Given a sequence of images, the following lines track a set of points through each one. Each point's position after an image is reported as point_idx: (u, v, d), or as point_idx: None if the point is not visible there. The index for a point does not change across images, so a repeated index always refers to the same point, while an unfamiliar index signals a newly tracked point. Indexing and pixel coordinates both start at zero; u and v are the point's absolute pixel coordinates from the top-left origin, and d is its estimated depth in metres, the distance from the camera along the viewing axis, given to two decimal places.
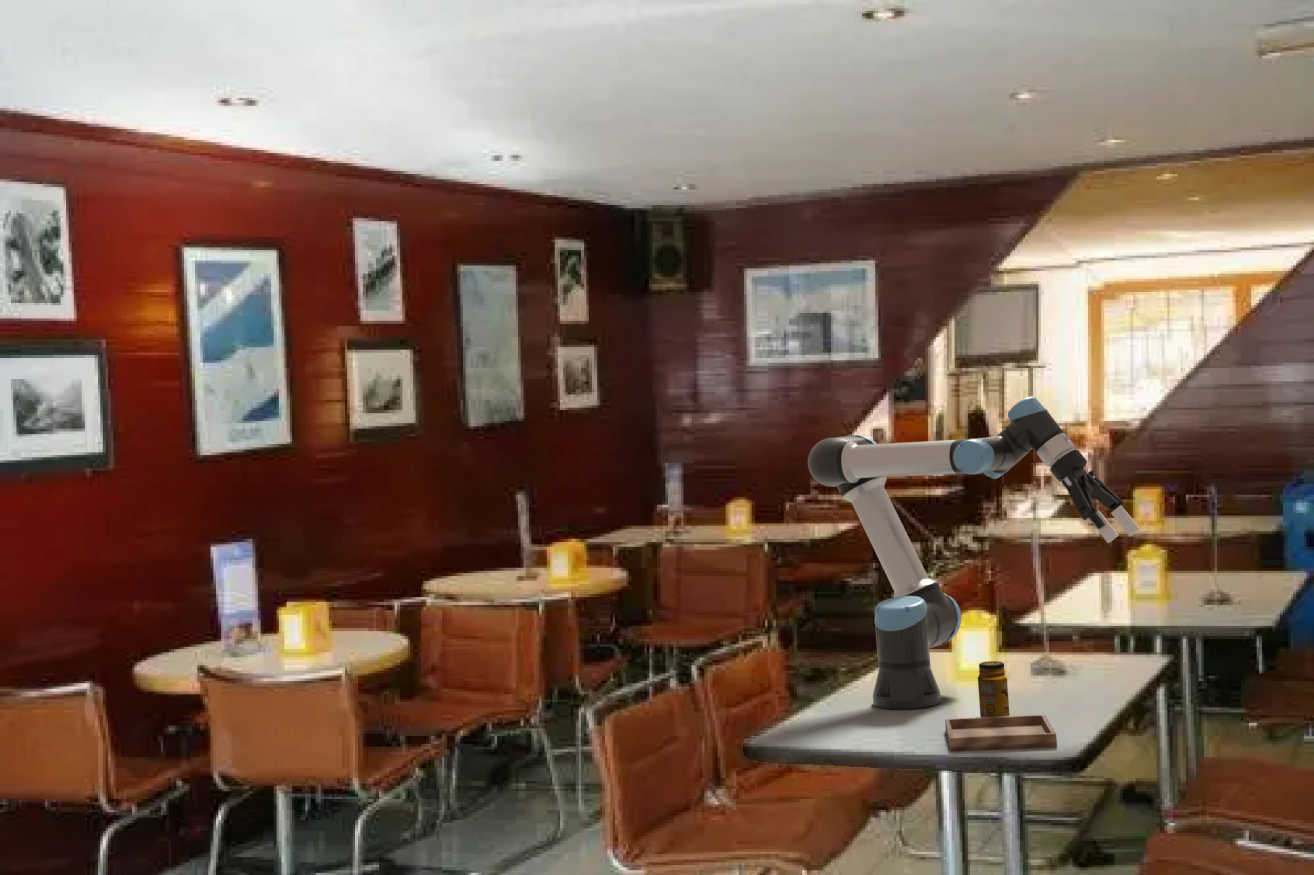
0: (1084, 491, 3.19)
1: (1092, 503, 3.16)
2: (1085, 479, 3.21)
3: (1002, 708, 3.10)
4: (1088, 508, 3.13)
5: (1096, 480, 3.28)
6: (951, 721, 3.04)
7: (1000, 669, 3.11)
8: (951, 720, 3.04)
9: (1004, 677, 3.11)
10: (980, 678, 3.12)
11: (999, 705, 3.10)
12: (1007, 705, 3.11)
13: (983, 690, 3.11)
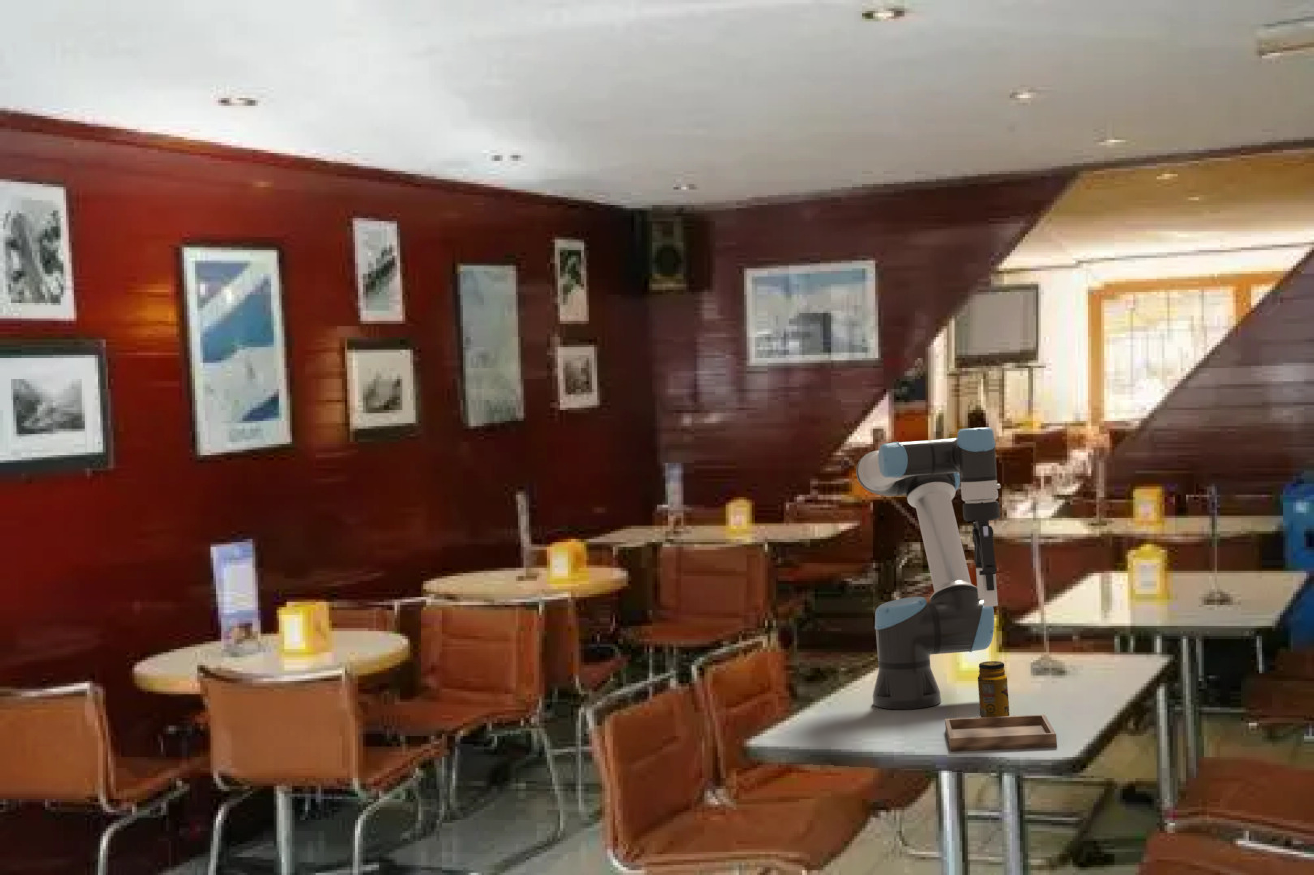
0: None
1: None
2: (992, 535, 3.10)
3: (1002, 708, 3.10)
4: (995, 569, 3.02)
5: None
6: (951, 721, 3.04)
7: (1000, 669, 3.11)
8: (951, 720, 3.04)
9: (1004, 677, 3.11)
10: (980, 678, 3.12)
11: (999, 705, 3.10)
12: (1007, 705, 3.11)
13: (983, 690, 3.11)
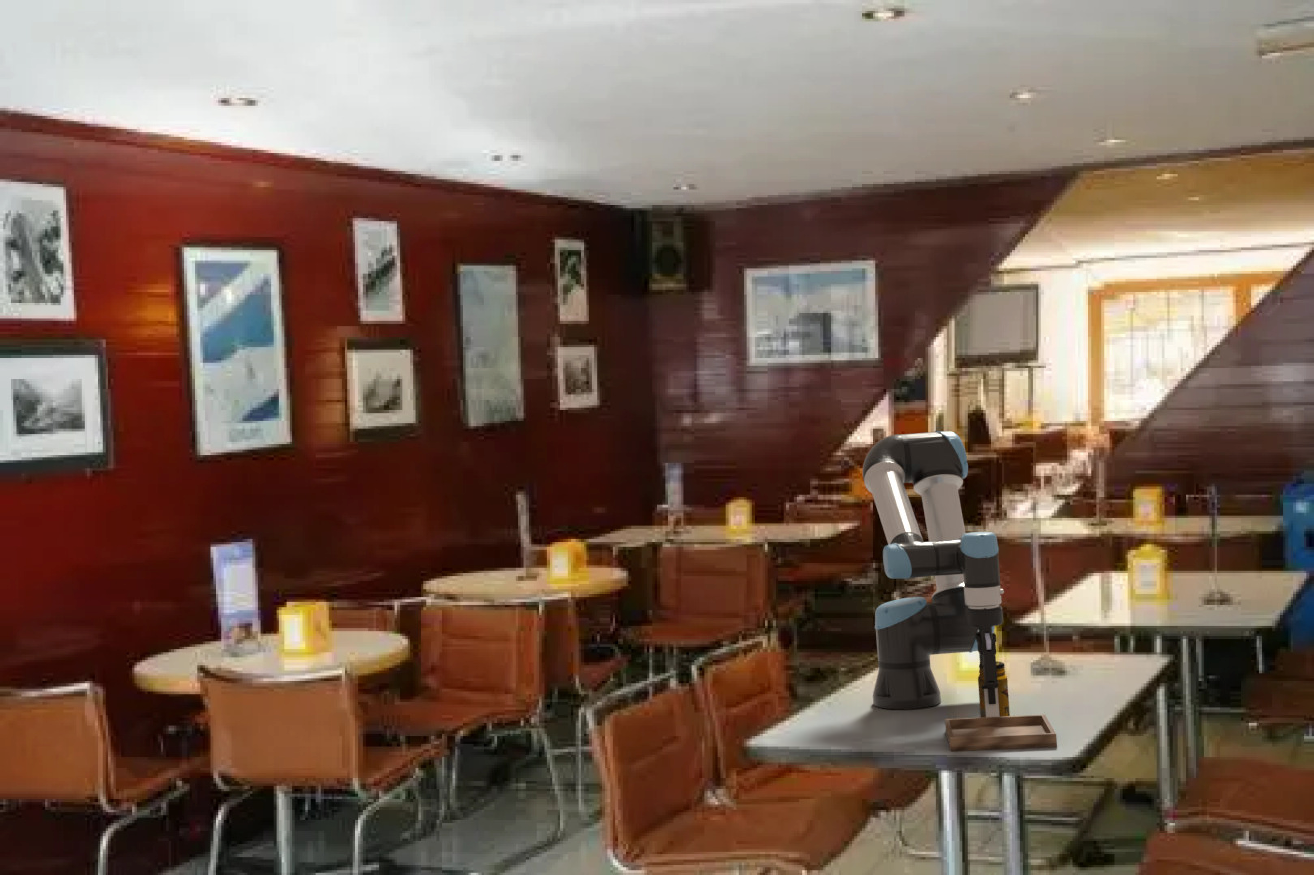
0: None
1: None
2: (995, 642, 3.10)
3: (1002, 708, 3.10)
4: (996, 685, 3.06)
5: None
6: (951, 721, 3.04)
7: (1000, 669, 3.10)
8: (951, 720, 3.04)
9: (1005, 677, 3.11)
10: (980, 678, 3.11)
11: (999, 705, 3.10)
12: (1007, 705, 3.11)
13: (983, 691, 3.11)
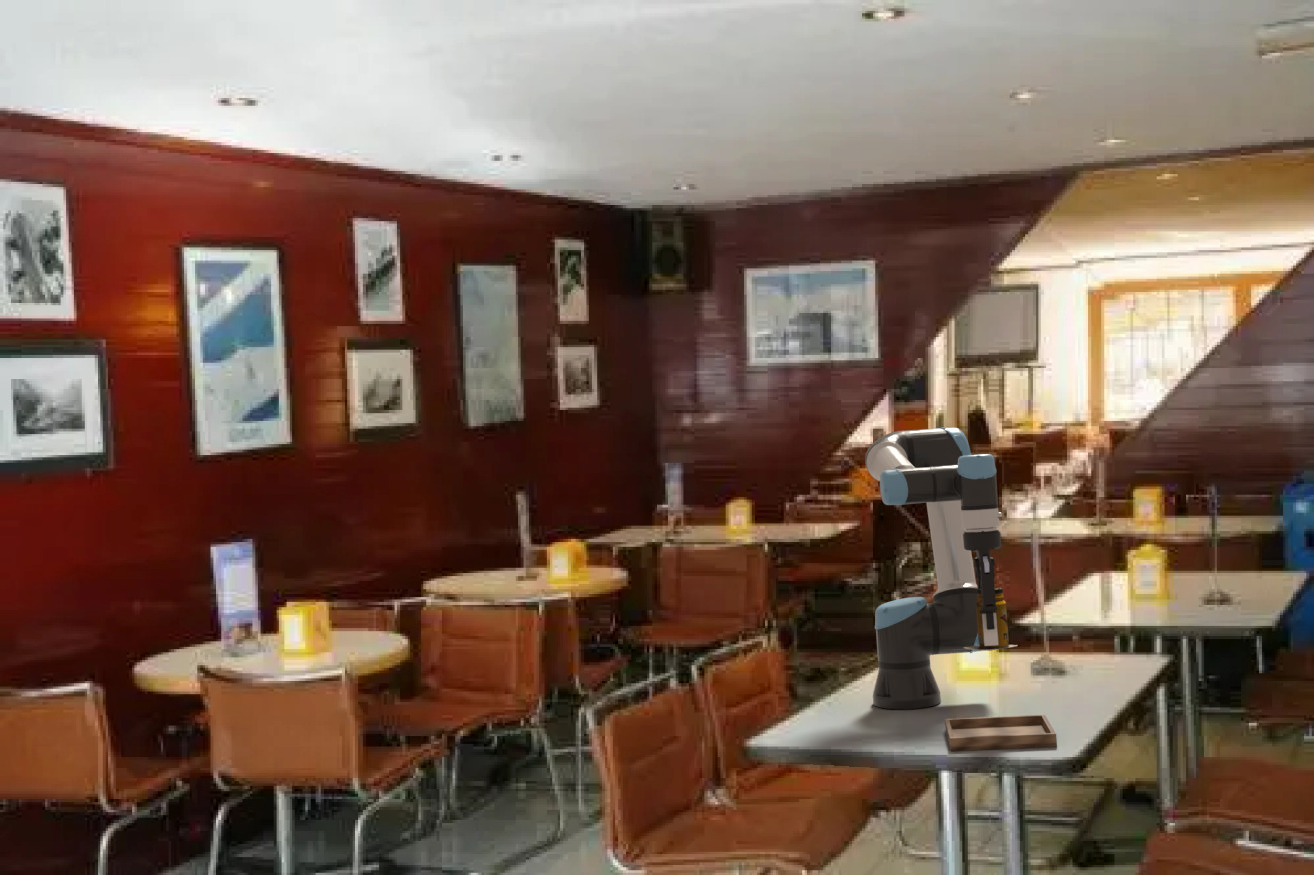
0: None
1: None
2: (993, 566, 3.02)
3: (1001, 634, 3.01)
4: (995, 609, 2.97)
5: None
6: (951, 721, 3.04)
7: (998, 594, 3.01)
8: (951, 720, 3.04)
9: (1003, 602, 3.02)
10: (978, 604, 3.03)
11: (998, 631, 3.01)
12: (1006, 631, 3.02)
13: (981, 616, 3.02)
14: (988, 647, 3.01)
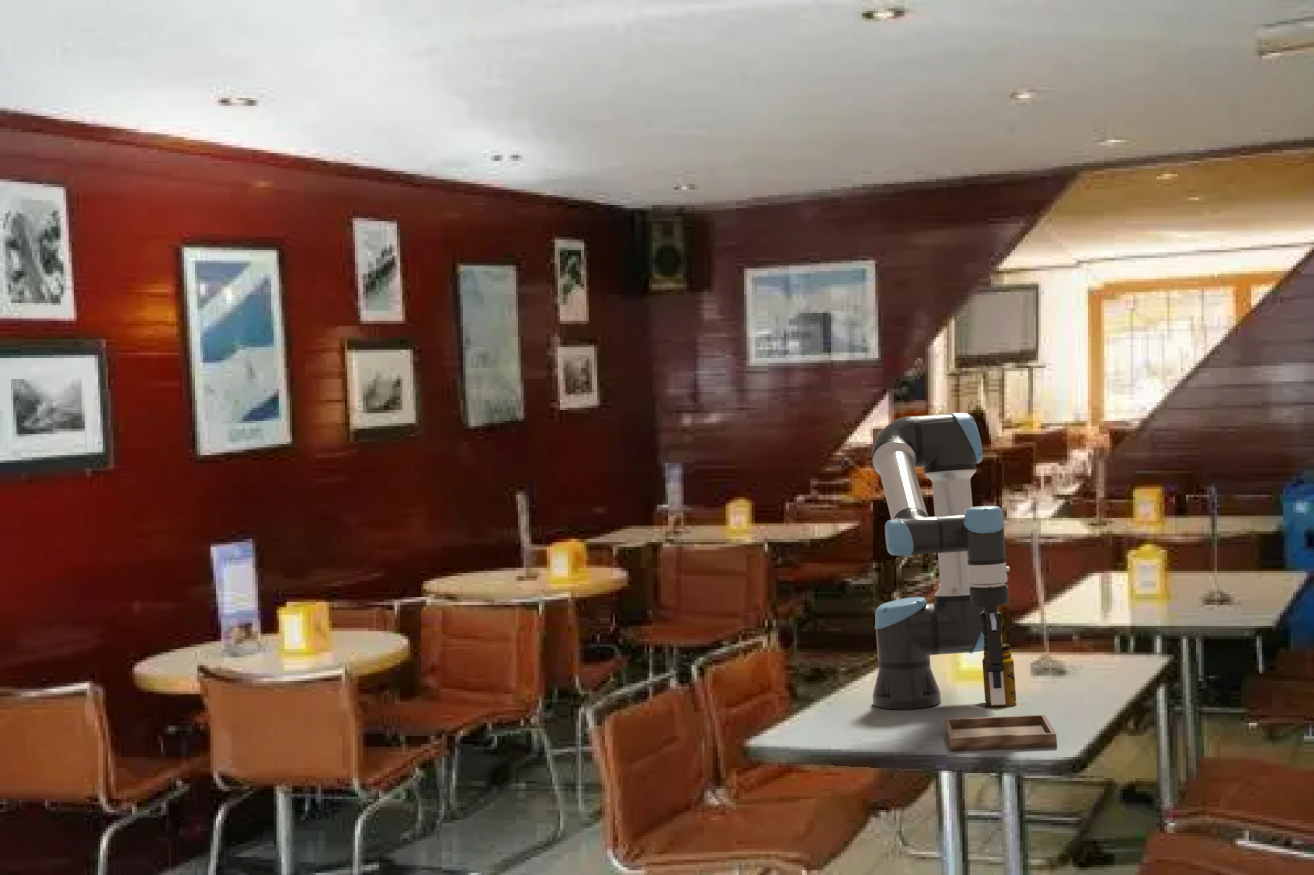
0: None
1: None
2: None
3: (1008, 693, 2.92)
4: (1002, 668, 2.88)
5: None
6: (951, 721, 3.04)
7: (1006, 651, 2.92)
8: (951, 720, 3.04)
9: (1011, 659, 2.93)
10: (985, 661, 2.94)
11: (1005, 689, 2.92)
12: (1014, 690, 2.93)
13: (988, 674, 2.93)
14: (995, 706, 2.92)
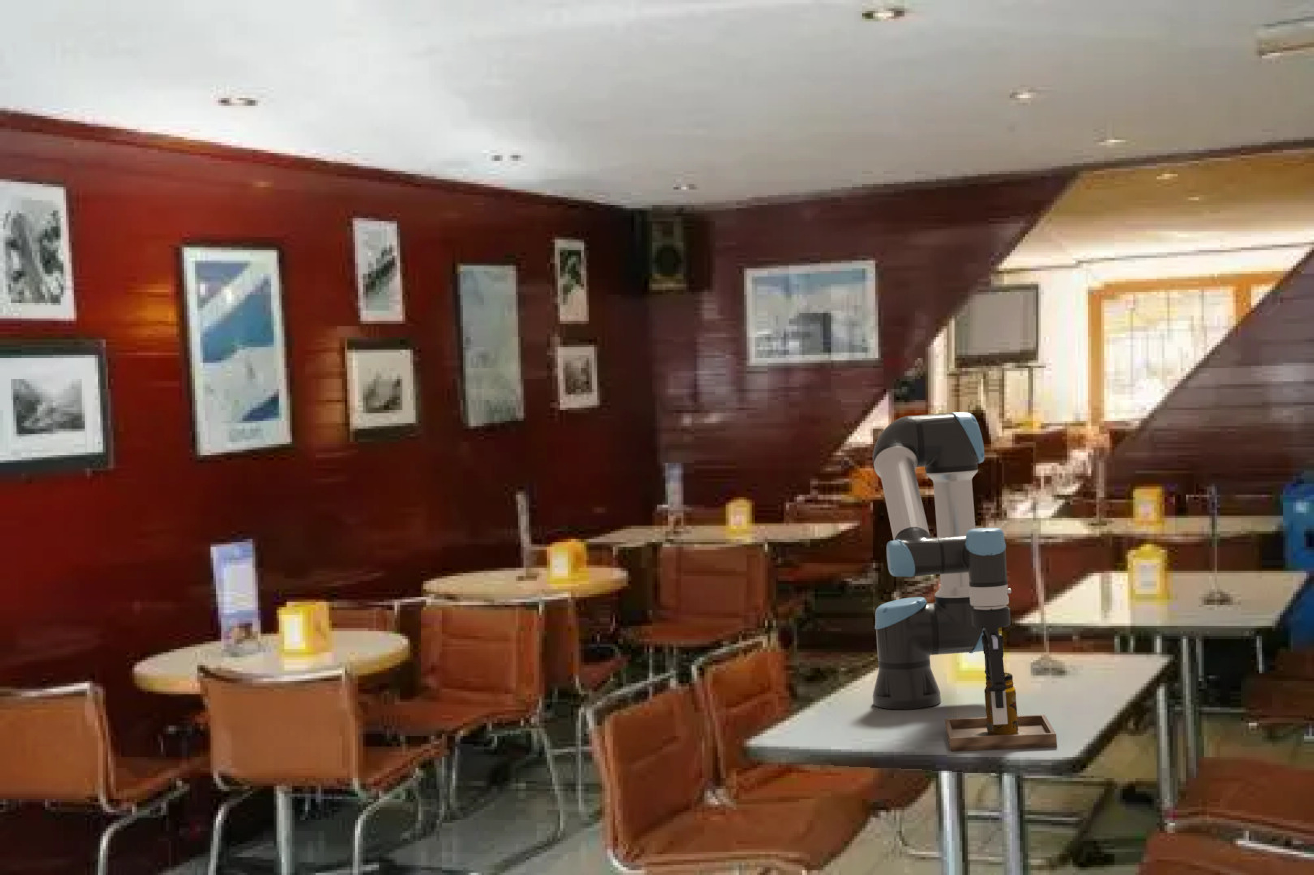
0: None
1: None
2: (1002, 644, 2.92)
3: (1010, 723, 2.92)
4: (1004, 687, 2.86)
5: None
6: (951, 721, 3.04)
7: (1008, 681, 2.92)
8: (951, 720, 3.04)
9: (1013, 689, 2.93)
10: (987, 690, 2.94)
11: (1007, 719, 2.92)
12: (1016, 719, 2.93)
13: (990, 704, 2.93)
14: None
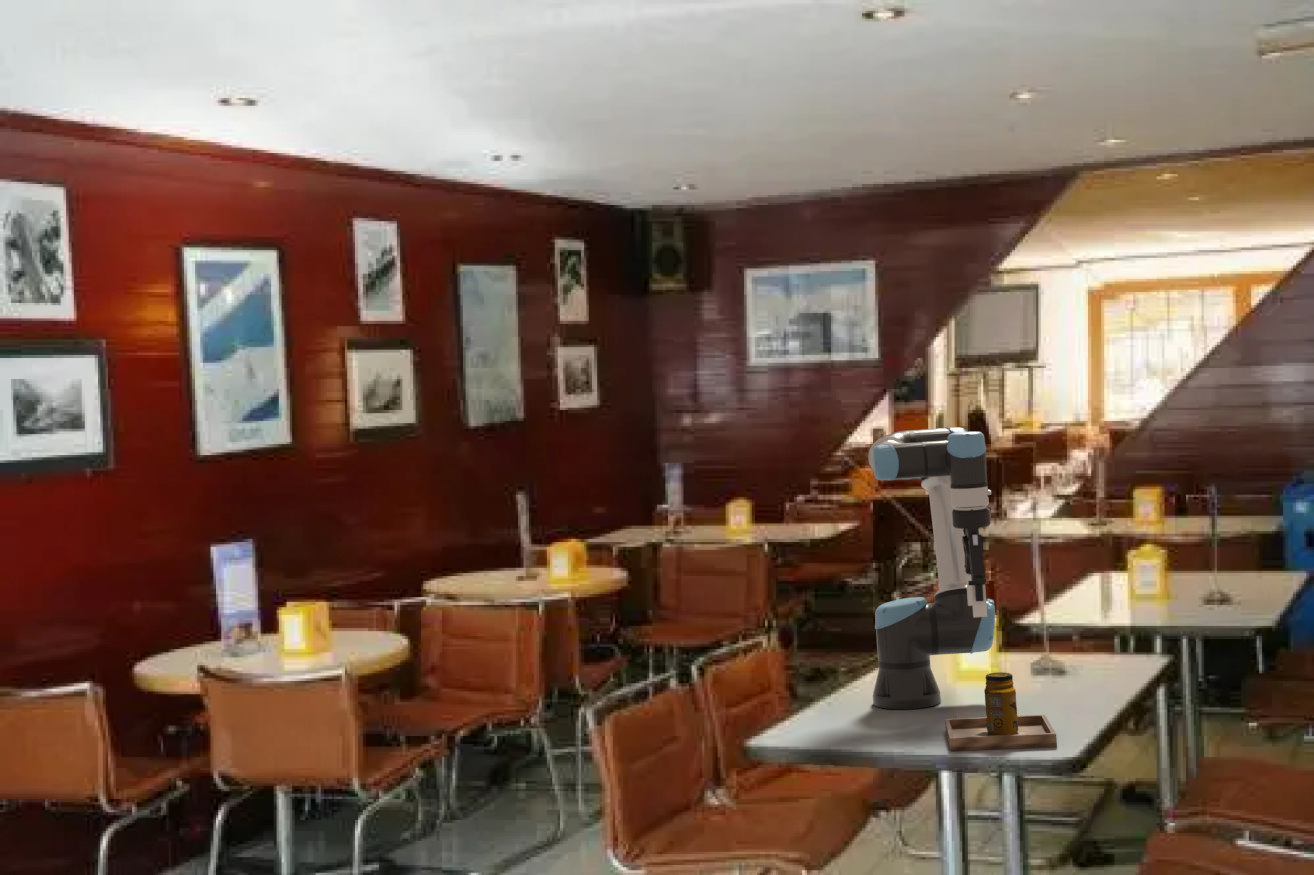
0: None
1: None
2: (982, 543, 3.01)
3: (1010, 723, 2.92)
4: (984, 580, 2.94)
5: None
6: (951, 721, 3.04)
7: (1008, 681, 2.92)
8: (951, 720, 3.04)
9: (1013, 689, 2.93)
10: (987, 690, 2.94)
11: (1007, 719, 2.92)
12: (1016, 719, 2.93)
13: (990, 704, 2.93)
14: None
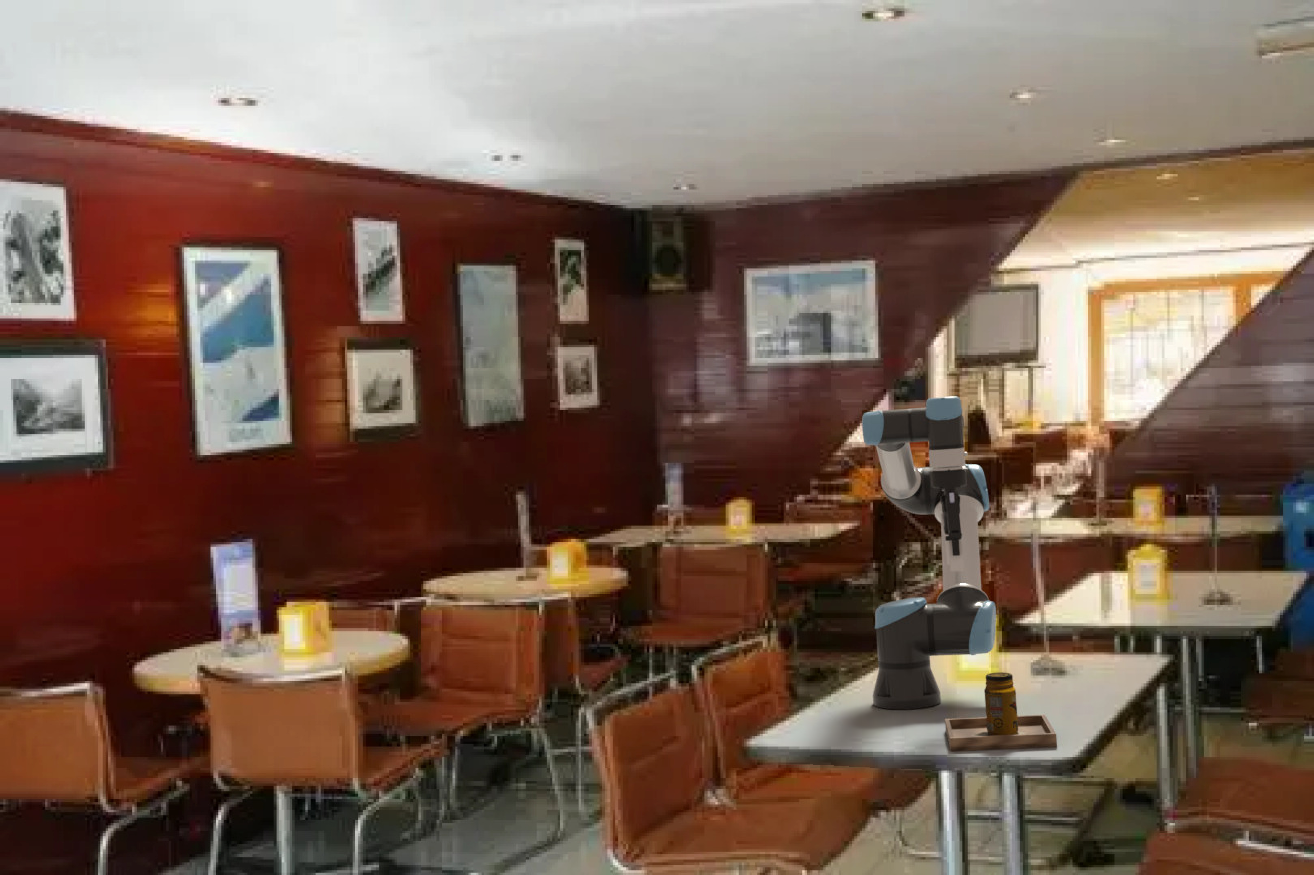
0: None
1: None
2: (959, 501, 3.16)
3: (1010, 723, 2.92)
4: (960, 535, 3.09)
5: None
6: (951, 721, 3.04)
7: (1008, 681, 2.92)
8: (951, 720, 3.04)
9: (1013, 689, 2.93)
10: (987, 690, 2.94)
11: (1007, 719, 2.92)
12: (1016, 719, 2.93)
13: (990, 704, 2.93)
14: None
